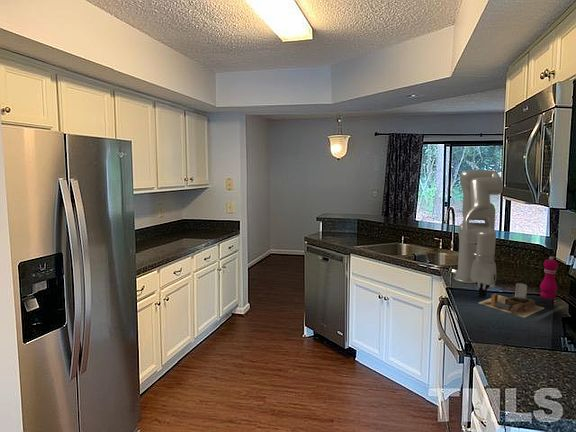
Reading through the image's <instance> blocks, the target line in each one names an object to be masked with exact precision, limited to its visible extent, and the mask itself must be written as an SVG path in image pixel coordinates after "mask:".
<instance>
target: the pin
mask: <svg viewBox="0 0 576 432" xmlns="http://www.w3.org/2000/svg"><path fill="white" fill-rule="evenodd" d="M498 295H499V294H497V293H493V294H491V297H490V298H491V305H492V306H496V307H499V308H502V309H506V310H511V305H507V304H504V303H501V302H497V301H498Z"/></svg>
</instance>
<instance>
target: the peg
mask: <svg viewBox="0 0 576 432" xmlns="http://www.w3.org/2000/svg"><path fill="white" fill-rule="evenodd" d="M527 291H528V285H527V284H525V283H521V282H520V283H515V292H514V296H515V301H516V302H520V303H523V304H524V303H526V298H527Z"/></svg>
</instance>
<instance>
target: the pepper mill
mask: <svg viewBox="0 0 576 432" xmlns="http://www.w3.org/2000/svg"><path fill="white" fill-rule="evenodd" d="M543 267H544V271H543V272H544V278H543V280H542V281H541V283H540V285H539V289H540V297H541V298H544V299H547V300H548V299H549V300H550V299H552V300H553V299H555V298H556V295H557V294H556V292H557V291H558V284H557V281H556V279H555V277H556V273H557V269H558V268H559V262H557V260H555V259H554V256H549V257H548V259H545V260H544V262H543Z"/></svg>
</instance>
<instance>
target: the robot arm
mask: <svg viewBox="0 0 576 432" xmlns="http://www.w3.org/2000/svg"><path fill="white" fill-rule="evenodd" d="M459 182H460V183H459V184H460V187H461V190H462V193H463V194H462V210H461V212H462V218H463V219H462V222H461V223H460V225H459V226H458V227H457V228H458V231H457V232H458V260H457V261H458V262H457V268H456V269H455V268H452V269H451V273H452V274H455V276H453V279H454V280H455V281H457V282H459V283H462V284H463V283H464V284H475V285H476V286H477V288H478V298H481V299H483V298H486V297H487V292H488V289H489V288H495V287H496V282H497V265H496V262H495V254H496V243H497V242H496V241H497V232H496V230H495V229H496V228H495V227H496V207H495V205H494V204H493V203H492V202H491V195H492V196H493V195H494V196H497V195H498V196H499V195H500V194H502V192H503V188H504V185H503V184H504V183H503V180H502V178H501V176H500V175H499V173H498V172H497V171H496V170H494V169H493V170H492V169H467V170H463V171H462V172H461V173H460V176H459ZM470 221H471V222H470ZM472 221H473V222H472ZM475 221H482V222H475ZM483 221H484V222H483Z"/></svg>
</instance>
